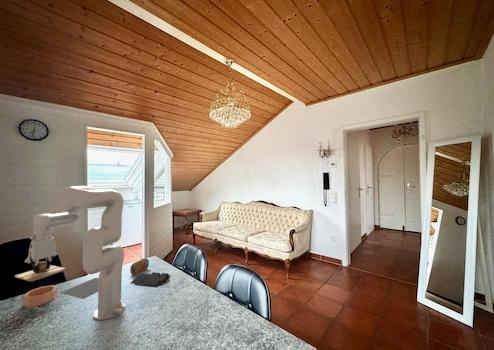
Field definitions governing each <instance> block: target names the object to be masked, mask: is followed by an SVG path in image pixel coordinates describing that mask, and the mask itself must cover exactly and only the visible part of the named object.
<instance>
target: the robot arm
mask: <svg viewBox="0 0 494 350" xmlns="http://www.w3.org/2000/svg"><path fill="white" fill-rule="evenodd" d="M60 194H61V195H60V199H61V202H62V204H61V205H62V206H61V207H62V209H63V210H64V212H61V213H60V212H59V213H39V214H36V215H34V216H33V232H32V236H29V240H31V242H30V245H29V249H28V256H27V258H26V259H25V260H24V263H26V264H30V265H32V270H33V272H34V273H38V272H39V265H38V262H40V260H43V259H45V261H47V269H50V265H51V262H52V261H53V259H54V258H55V257H56V256H57V255H59V252H58V251H57V245H56V240H55V237H54V236H53V235H54V234H53V233H54V229H56V228H62V227H66V226H69V225H72V224H73V223H75V222H76V221H77V220H79V218H80V217H81V214H82V210H83V209H93V208H95V209H96V208H103V207H106V208H105V209H104V211H103V212H102V215H101V219H100V220H101V223H100V226H97V227H93V228H91V229H89V230H87V232H85V234H84V237H83V239H82V240H83V241H82V259H81V260H82V262H81V263H82V269H83V272H85V273H86V274H87V275H95V274H97V273H99V274H98V278H99V279H98V292H97V309H96V310H95V311H94V312H93V315H92V316H93V319H95V320H96V321H104V320H109V319H113V318H114V317H117V316H119V315H120V314H122V313H123V311H124V310H125V309H126V306H125V304H124V303H123V301H122V272H123V271H122V270H123V265H124V264H123V263H124V259H125V251H124V248H123V247H122V246H121V245H117V244H115V243H117V242H119V241H120V240H121V238H122V231H123V230H122V229H123V228H122V227H123V226H122V224H123V223H122V222H123V221H122V220H123V219H122V218H123V216H122V215H123V209H124V203H125V202H124V201H125V200H124V197H123V196H122V194H121V193H120V192H119V191H118V190H114V189H96V188H94V187H92V186H89V185H87V186H86V185H75V186H73V185H72V186H71V185H70V186H67V187H66V188H64V189H63V190H62V192H61V193H60ZM113 244H115V245H113ZM103 247H104V248H103Z"/></svg>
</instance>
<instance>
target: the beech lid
mask: <svg viewBox="0 0 494 350" xmlns="http://www.w3.org/2000/svg"><path fill="white" fill-rule="evenodd" d="M38 265H39V272H38V273H34V272H33V269H32V270H28V271H25V272H22V273H19V274H15V275H14V278H16V279H20V280H24V281H27V282H34V281H37V280H41V279H44V278H46V277H50V276H53V275H56V274H59V273H62V272H64V271H67V270H68V269H67V268H65V267H62V266H58V265H57V266H56V265H52V264H50V269H47V261H46V260H43V261H39V262H38Z"/></svg>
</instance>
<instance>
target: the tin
mask: <svg viewBox="0 0 494 350" xmlns="http://www.w3.org/2000/svg"><path fill="white" fill-rule="evenodd" d="M149 265H150V262H149V259H148V258H142V259H141V258H140V259H139V260H137V261H135V262H133V263H132V264H131V266H130V269H129V271H130V274H131V275H133V276H138V275H139V274H142V273H144V272H145V271H147V269H148V268H149ZM144 270H145V271H144ZM141 272H142V273H141Z"/></svg>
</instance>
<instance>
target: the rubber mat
mask: <svg viewBox="0 0 494 350" xmlns="http://www.w3.org/2000/svg"><path fill="white" fill-rule="evenodd" d="M98 279H99V277H94V278H91V279H89V280H87V281H85V282H81V283H80V284H77V285H74V286H72V287H70V288H67V289H64V290H63V291H60V292H59V293H60V294H63V295H66V296H67V295H68V296H70V297H75V298H77V299H82V300H83V299H84V300H85V299H86V298H89V297H91V296H92V295H94V294H98Z"/></svg>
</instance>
